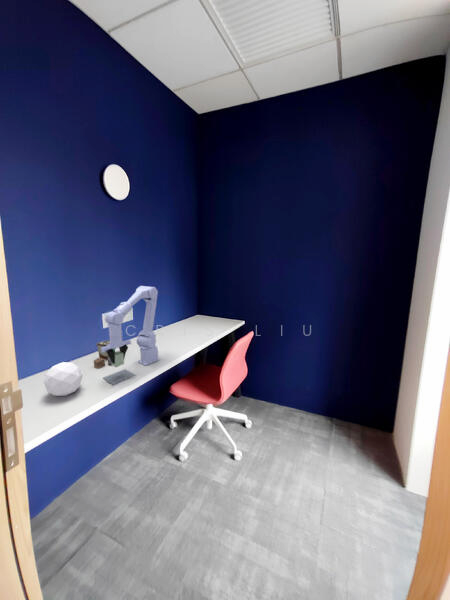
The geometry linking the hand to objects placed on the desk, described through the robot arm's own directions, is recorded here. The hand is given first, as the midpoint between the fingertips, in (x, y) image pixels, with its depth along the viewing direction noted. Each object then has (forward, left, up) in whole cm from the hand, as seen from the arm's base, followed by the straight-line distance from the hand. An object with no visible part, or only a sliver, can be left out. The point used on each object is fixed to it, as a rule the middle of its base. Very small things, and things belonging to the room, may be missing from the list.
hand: (117, 361), depth 128 cm
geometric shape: (+23, -5, -9) cm, 25 cm away
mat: (0, 0, -9) cm, 9 cm away
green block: (0, 0, -2) cm, 2 cm away
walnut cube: (+1, -20, -9) cm, 22 cm away
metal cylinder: (-5, -18, -9) cm, 20 cm away
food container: (-8, -26, -9) cm, 29 cm away
